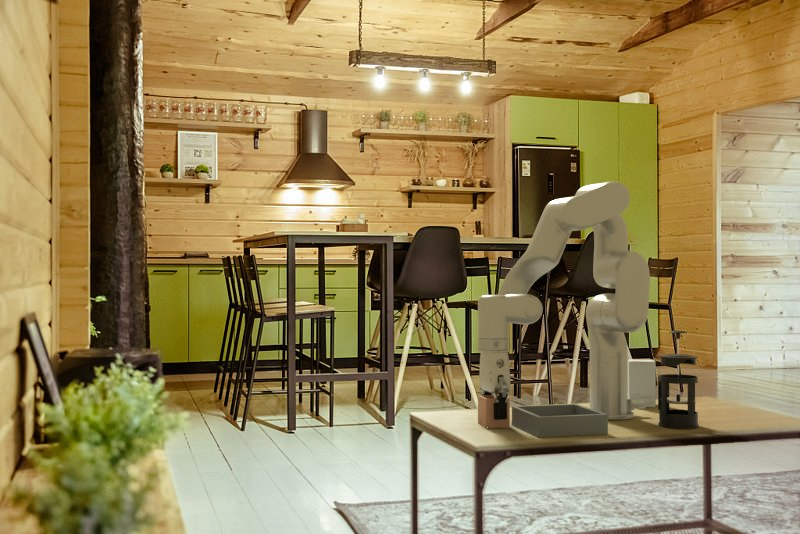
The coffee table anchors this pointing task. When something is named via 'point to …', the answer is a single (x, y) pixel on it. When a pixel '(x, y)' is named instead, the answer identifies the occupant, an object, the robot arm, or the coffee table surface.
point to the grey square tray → (559, 420)
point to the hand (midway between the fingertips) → (493, 416)
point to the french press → (677, 416)
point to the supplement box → (642, 381)
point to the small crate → (491, 412)
